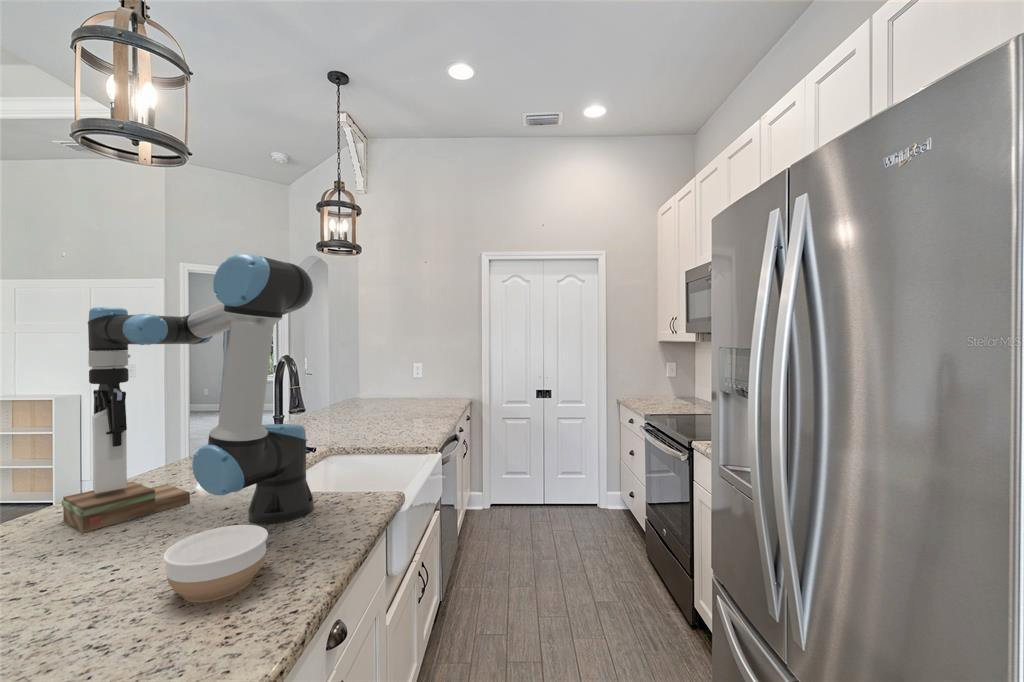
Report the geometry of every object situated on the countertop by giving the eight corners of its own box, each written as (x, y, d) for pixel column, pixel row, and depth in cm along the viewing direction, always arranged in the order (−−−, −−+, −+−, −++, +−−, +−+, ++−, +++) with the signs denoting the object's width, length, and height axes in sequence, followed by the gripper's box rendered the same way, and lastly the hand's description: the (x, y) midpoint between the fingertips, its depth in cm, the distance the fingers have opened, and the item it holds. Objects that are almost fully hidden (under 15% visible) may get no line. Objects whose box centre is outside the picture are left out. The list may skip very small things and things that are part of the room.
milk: (95, 494, 109) (93, 405, 109) (92, 488, 113) (91, 403, 113) (127, 487, 113) (126, 402, 113) (124, 482, 117) (122, 400, 117)
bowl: (265, 555, 92) (265, 518, 92) (271, 592, 78) (271, 548, 78) (169, 578, 83) (169, 536, 83) (157, 624, 70) (156, 574, 70)
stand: (190, 503, 122) (190, 481, 122) (82, 533, 103) (81, 508, 103) (167, 494, 130) (167, 473, 130) (61, 521, 110) (61, 497, 110)
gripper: (143, 367, 111) (144, 458, 111) (113, 366, 121) (113, 449, 121) (104, 369, 105) (105, 465, 105) (76, 367, 115) (76, 455, 115)
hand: (109, 456), depth 113 cm, fingers open, 7 cm apart
